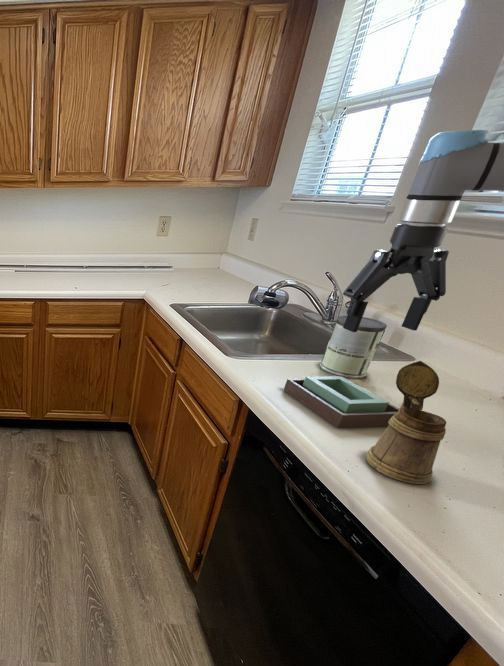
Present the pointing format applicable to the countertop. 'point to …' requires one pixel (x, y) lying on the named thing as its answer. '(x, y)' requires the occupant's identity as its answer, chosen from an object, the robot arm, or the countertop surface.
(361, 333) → the coffee can
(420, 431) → the wooden mug
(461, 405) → the countertop surface
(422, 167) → the robot arm
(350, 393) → the frame
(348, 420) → the tray
